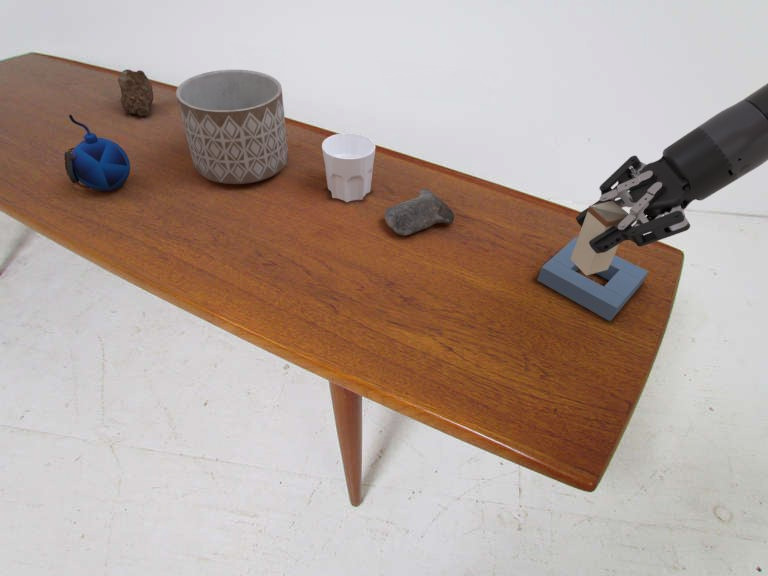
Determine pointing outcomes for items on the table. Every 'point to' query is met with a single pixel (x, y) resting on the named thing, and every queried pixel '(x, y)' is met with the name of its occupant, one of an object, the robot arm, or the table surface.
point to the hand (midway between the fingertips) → (586, 235)
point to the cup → (348, 165)
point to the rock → (135, 92)
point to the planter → (234, 125)
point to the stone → (418, 213)
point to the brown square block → (594, 225)
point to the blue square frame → (592, 282)
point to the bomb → (97, 162)
